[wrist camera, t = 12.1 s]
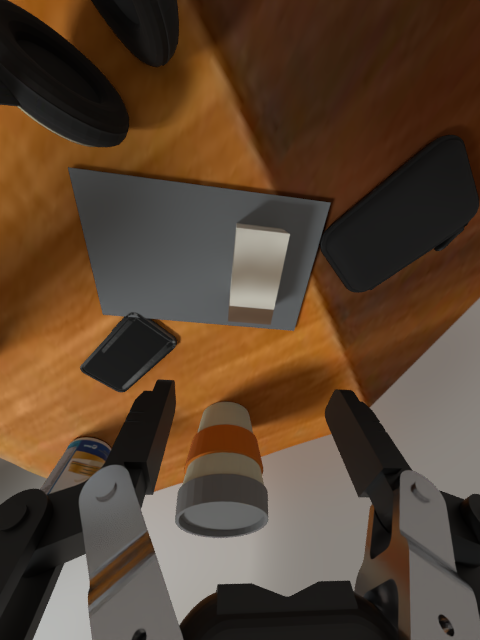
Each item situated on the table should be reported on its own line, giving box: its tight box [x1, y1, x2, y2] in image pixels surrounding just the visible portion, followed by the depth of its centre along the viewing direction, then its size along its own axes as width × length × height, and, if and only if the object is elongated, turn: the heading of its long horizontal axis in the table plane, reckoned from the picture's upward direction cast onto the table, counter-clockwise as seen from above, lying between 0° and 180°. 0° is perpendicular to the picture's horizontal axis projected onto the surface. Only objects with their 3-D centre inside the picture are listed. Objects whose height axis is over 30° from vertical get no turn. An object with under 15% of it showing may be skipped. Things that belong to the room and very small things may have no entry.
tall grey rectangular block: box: [228, 223, 290, 325], centre depth 24 cm, size 10×5×4 cm, turn 174°
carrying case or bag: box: [320, 135, 479, 292], centre depth 23 cm, size 11×3×15 cm
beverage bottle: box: [40, 437, 111, 495], centre depth 36 cm, size 8×8×20 cm
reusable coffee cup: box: [175, 402, 268, 538], centre depth 34 cm, size 12×13×15 cm
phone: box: [80, 313, 177, 392], centre depth 32 cm, size 8×1×15 cm
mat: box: [68, 167, 331, 331], centre depth 25 cm, size 26×16×1 cm, turn 84°
